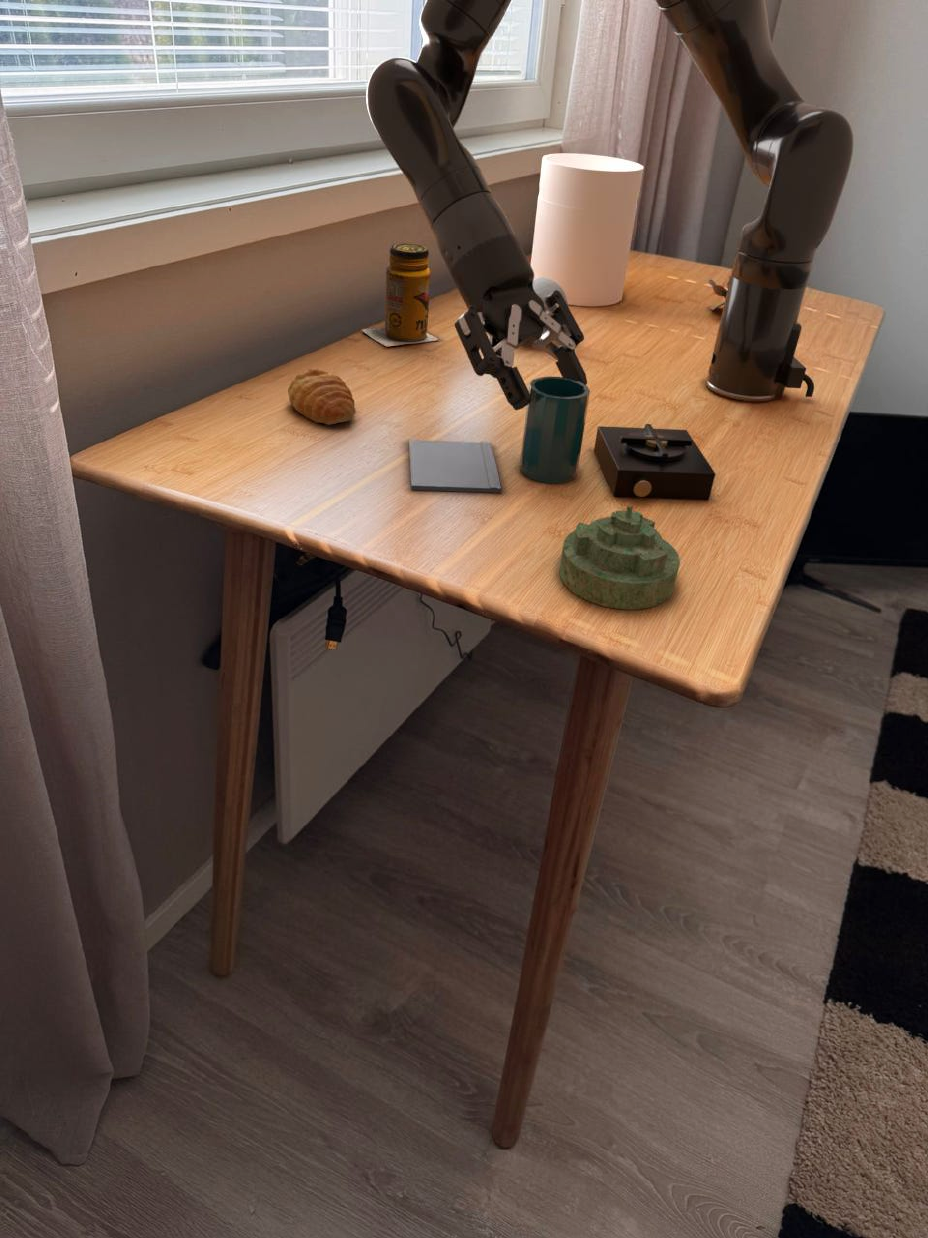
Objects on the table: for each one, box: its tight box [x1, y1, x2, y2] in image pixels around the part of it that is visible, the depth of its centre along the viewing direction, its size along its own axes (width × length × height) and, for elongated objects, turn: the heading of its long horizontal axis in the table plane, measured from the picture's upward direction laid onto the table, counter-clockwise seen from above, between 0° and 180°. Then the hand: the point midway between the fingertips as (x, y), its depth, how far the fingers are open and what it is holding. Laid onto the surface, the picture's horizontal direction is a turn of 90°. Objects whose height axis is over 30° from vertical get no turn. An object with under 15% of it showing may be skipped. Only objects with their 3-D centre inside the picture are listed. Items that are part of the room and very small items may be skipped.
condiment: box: [361, 242, 439, 347], centre depth 127 cm, size 7×8×12 cm
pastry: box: [287, 368, 356, 426], centre depth 105 cm, size 9×7×4 cm
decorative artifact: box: [558, 504, 681, 611], centre depth 79 cm, size 10×7×10 cm
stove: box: [593, 423, 716, 501], centre depth 97 cm, size 10×12×4 cm
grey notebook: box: [408, 439, 502, 494], centre depth 97 cm, size 9×11×1 cm
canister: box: [530, 152, 645, 307], centre depth 151 cm, size 16×16×20 cm
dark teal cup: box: [519, 376, 591, 484], centre depth 95 cm, size 6×6×9 cm
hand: (552, 397), depth 94 cm, fingers open, 8 cm apart
